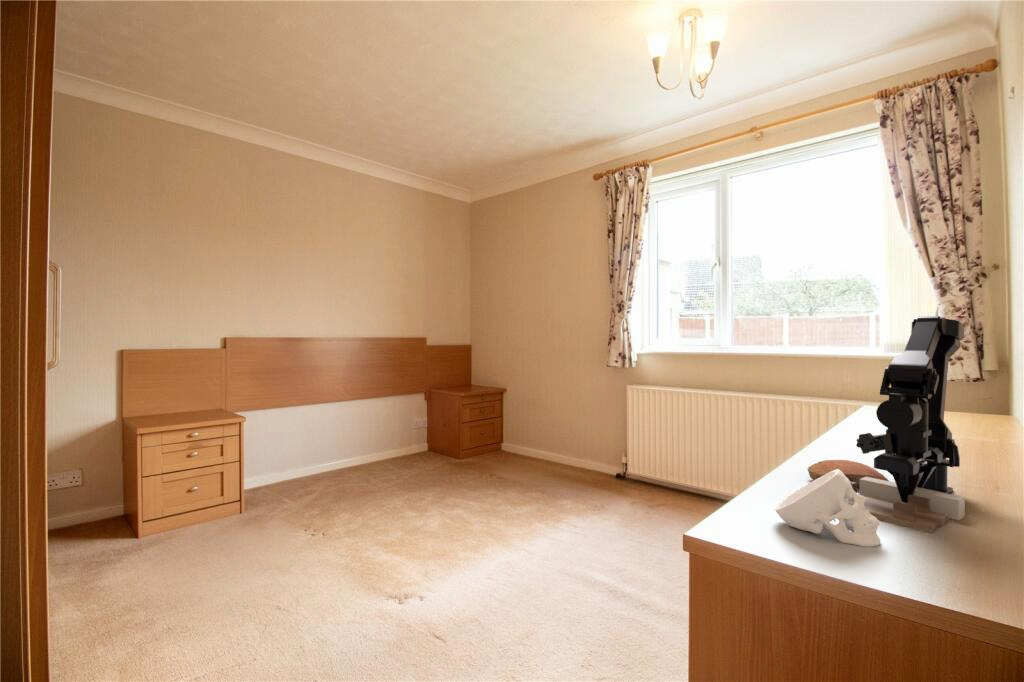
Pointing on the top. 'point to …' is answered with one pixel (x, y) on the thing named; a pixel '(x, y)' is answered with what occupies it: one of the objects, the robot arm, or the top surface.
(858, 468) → the ceramic shard
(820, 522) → the skull bowl
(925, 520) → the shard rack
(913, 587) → the top surface
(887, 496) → the clay strip
